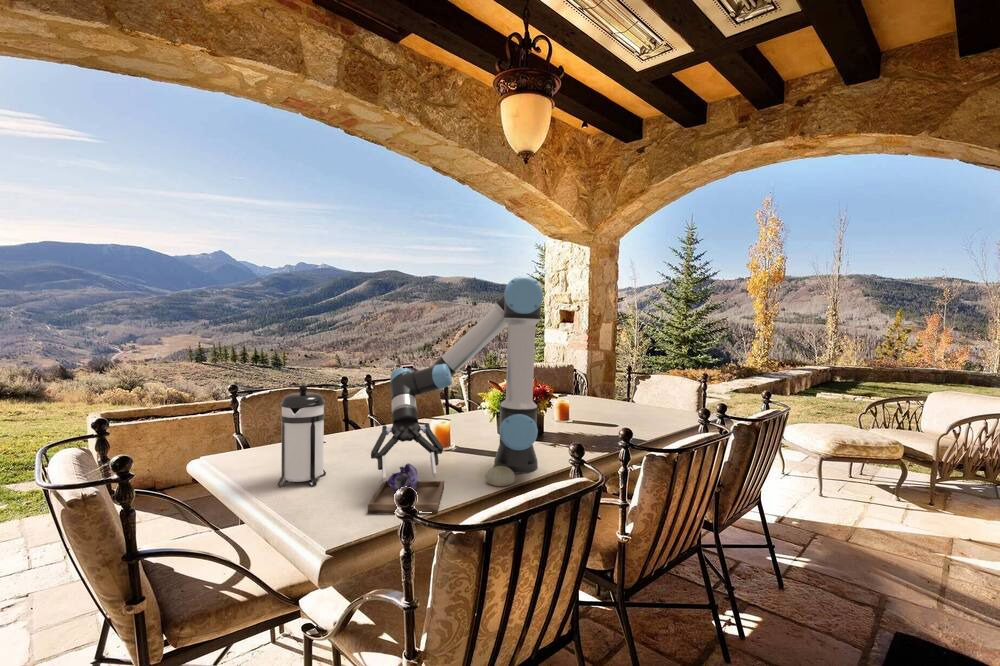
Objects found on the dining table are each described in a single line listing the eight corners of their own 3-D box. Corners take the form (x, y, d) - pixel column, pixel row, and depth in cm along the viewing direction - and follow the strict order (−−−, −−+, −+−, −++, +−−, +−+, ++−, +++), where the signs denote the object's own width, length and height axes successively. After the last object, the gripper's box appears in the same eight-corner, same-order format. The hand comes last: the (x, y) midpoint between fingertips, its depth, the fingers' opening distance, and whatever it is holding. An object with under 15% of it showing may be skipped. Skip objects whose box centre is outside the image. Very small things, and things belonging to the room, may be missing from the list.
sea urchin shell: (521, 479, 141) (504, 463, 139) (504, 499, 139) (486, 483, 137) (512, 470, 150) (496, 454, 148) (495, 489, 148) (479, 473, 146)
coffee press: (339, 480, 143) (340, 385, 143) (287, 493, 132) (287, 389, 131) (316, 467, 156) (316, 379, 155) (266, 478, 144) (266, 383, 144)
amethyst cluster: (408, 462, 138) (398, 456, 129) (431, 477, 135) (422, 472, 126) (390, 490, 135) (378, 486, 126) (413, 506, 132) (403, 503, 123)
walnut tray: (443, 489, 137) (444, 480, 137) (437, 514, 119) (437, 504, 119) (383, 488, 136) (383, 480, 136) (367, 513, 119) (367, 504, 118)
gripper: (443, 417, 146) (452, 480, 132) (361, 421, 138) (362, 488, 124) (446, 404, 141) (456, 467, 127) (362, 407, 133) (362, 475, 119)
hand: (409, 477), depth 125 cm, fingers open, 13 cm apart
